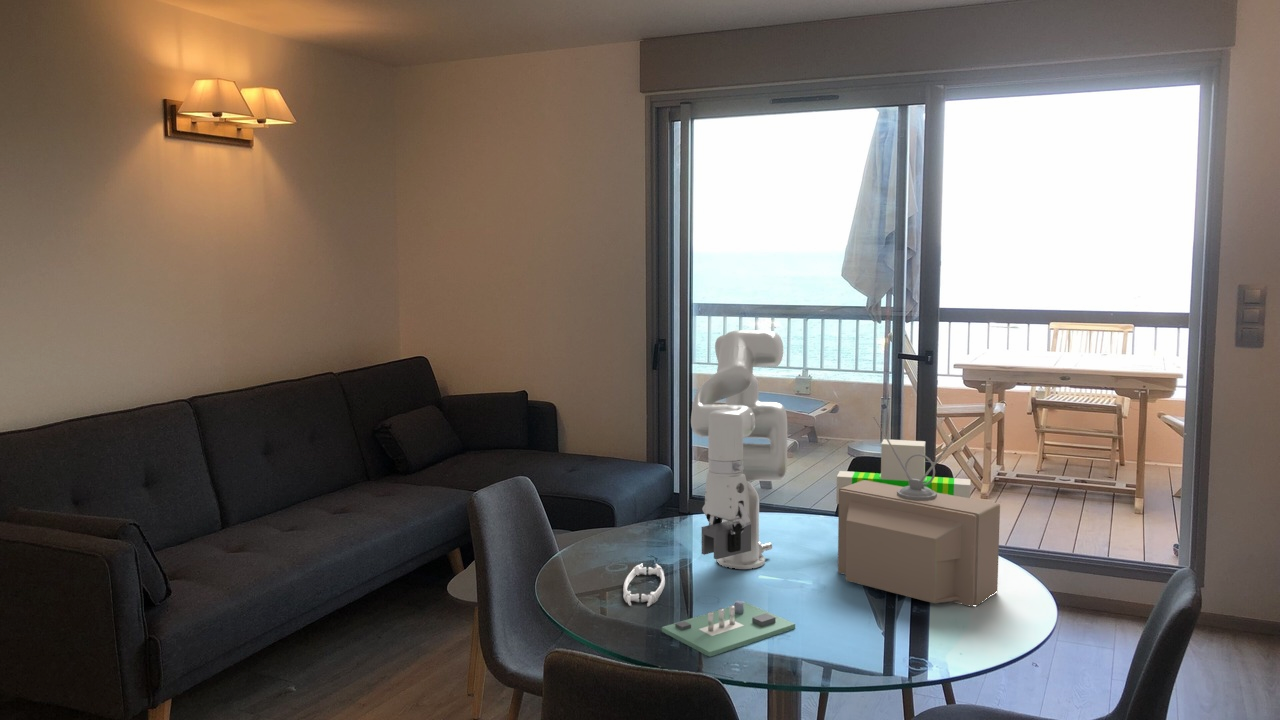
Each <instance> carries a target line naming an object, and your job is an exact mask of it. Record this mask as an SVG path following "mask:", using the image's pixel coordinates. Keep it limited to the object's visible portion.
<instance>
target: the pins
mask: <svg viewBox="0 0 1280 720" xmlns="http://www.w3.org/2000/svg"><path fill="white" fill-rule="evenodd" d="M728 607H729V624H730V625H735V606H734V604H732V605H729V606H728ZM718 610H719V628H724V608H719V609H718ZM713 612H714V611H708V612H707V613H708V631H709V632H713V631H714V613H713Z"/></svg>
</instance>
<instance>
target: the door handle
mask: <svg viewBox="0 0 1280 720" xmlns="http://www.w3.org/2000/svg"><path fill="white" fill-rule="evenodd" d="M643 564H644V563H640V564H637V565H636V566H634V567H633V568H632V570H631V571H630V572H629V573H628V574H627V576H626V578H625V579H624V583H623V586H622V587H623V590H622V591H623V600H624V601H625V603H626V604H627V605H628V606H629V607H632V602H636V603H645V602H647V603H646V607H650V606H652V605H653V604H655V603H657V602H658V600H659V598H660V596H661V595H662V593H663V591H664V589H665V586H666V585H665V584H666V579H665V571H664V570H663V568H662V567H661V565H659V564H658V563H655V566H653V567H651V566H648V570H647V566H644V565H643ZM647 574H648V576H652V575H656V577H659V578H660V584H659V585H658V587H657V589H656V590H655V591H650V593H648V592H647V593H646V594H645V593H641V597H640V593H634V594H632V591H631V590H628V588H629V587H628V586H629V585H630V583H631V581H633V579H634V578H635V577H636V575H637V576H638V577H639V576H640V575H643V576H646V575H647ZM640 601H641V602H640Z"/></svg>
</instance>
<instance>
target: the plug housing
mask: <svg viewBox="0 0 1280 720" xmlns="http://www.w3.org/2000/svg"><path fill="white" fill-rule="evenodd" d="M735 526H736V522H734V527H735ZM728 534H730V530H729V525H728V521H726V522H723V521H722V523H717V524H713V525H709V524H708V525H704V526H701V555H704V556H705V555H709V554H713V559H714V560H717V559H720V558H724V557H728V556H732V555H736V554H740V553H744V552H748V551H751V524H748V525H747V526H746V527H745V528H744V530H743V532H742V533H741V549H740V551H736V552H731V553H730V552H728Z"/></svg>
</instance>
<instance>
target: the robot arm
mask: <svg viewBox="0 0 1280 720" xmlns="http://www.w3.org/2000/svg"><path fill="white" fill-rule="evenodd" d="M714 350H715V355H716V356H715V357H716V360H717V364H718V365H717V368H716V372H715V373H713V375H711V376H710V377H708V378H707V379H706V380H705V381H704V382H703V383H702V384H701V385H700V386H699V387H698V389H697V390H696V392H695V394H694V397H693V403H692V409H691V414H690V415H691V416H690V426H691V429H692V432H693V433H694V435H696V436H698V437H701V438H708V440H707V441H708V444H707V445H708V448H707V450H708V451H707V452H708V454H707V455H708V456H707V457H708V459H707V460H708V466H707V467H708V468H707V469H708V471H707V475H706V481H705V490H704V492H705V493H704V505H703V506H702V512H703V513H704V515H705V516H706V519H707V521H708V525H713V524H717V523H722V522H726V521H728V525H729V530H730V534H728V552H730V553H731V552H736V551H740V549H741V533H742V532H743V530H744V528H745V527H746V526H747V525H748V524H751V551H748V552H744V553H740V554H736V555H732V556H728V557H724V558H720V559H716V563H717V562H718V563H719V565H720V566H721V565H722V567H724V566H725V567H724V568H727V567H729V569H732V568H735V569H734V570H751V569H752V568H753V569H757V568H760V567H762V566H763V565H765V562H766V559H765V558H766V557H765V556H764V555H763V554H764V552H765V551H771V550H772V549H773V544H772V543H771V542H770V541H769V542H765V543H762V542H761V541H760V497H759V494H758V492H757V490H756V488H755V487H754V486H753V484H752V483H751V482H750V481H753V482H754V481H755V482H756V481H758V482H760V481H761V482H763V481H764V482H778V481H782V480H784V478H785V476H787V475H786V474H787V470H788V415H787V411H786V407H785V406H784V405H783V404H782V403H779V402H776V401H760V400H759V399H760V398H759V390H760V389H759V386H760V385H759V381H758V379H757V377H756V376H755V374H754V372H753V371H754V367H755V368H756V367H758V368H759V367H761V368H763V367H764V368H775V367H778V366H779V365H780V364H781V362H782V361H783V356H784V344H783V340H782V338H781V336H780V334H778V333H777V332H775V331H772V330H765V329H764V330H763V329H762V330H755V329H753V330H750V329H749V330H745V329H743V330H740V329H739V330H733V331H729V332H727V333H726V334H722V335H720V336H718V337H717V338H716V340H715V343H714ZM723 399H725V403H724V404H723V403H721V404H719V403H716V402H718V401H721V400H723ZM744 439H766V440H768V441H769V443H753V442H751V443H750V442H744ZM734 522H736V526H735V527H734Z"/></svg>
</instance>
